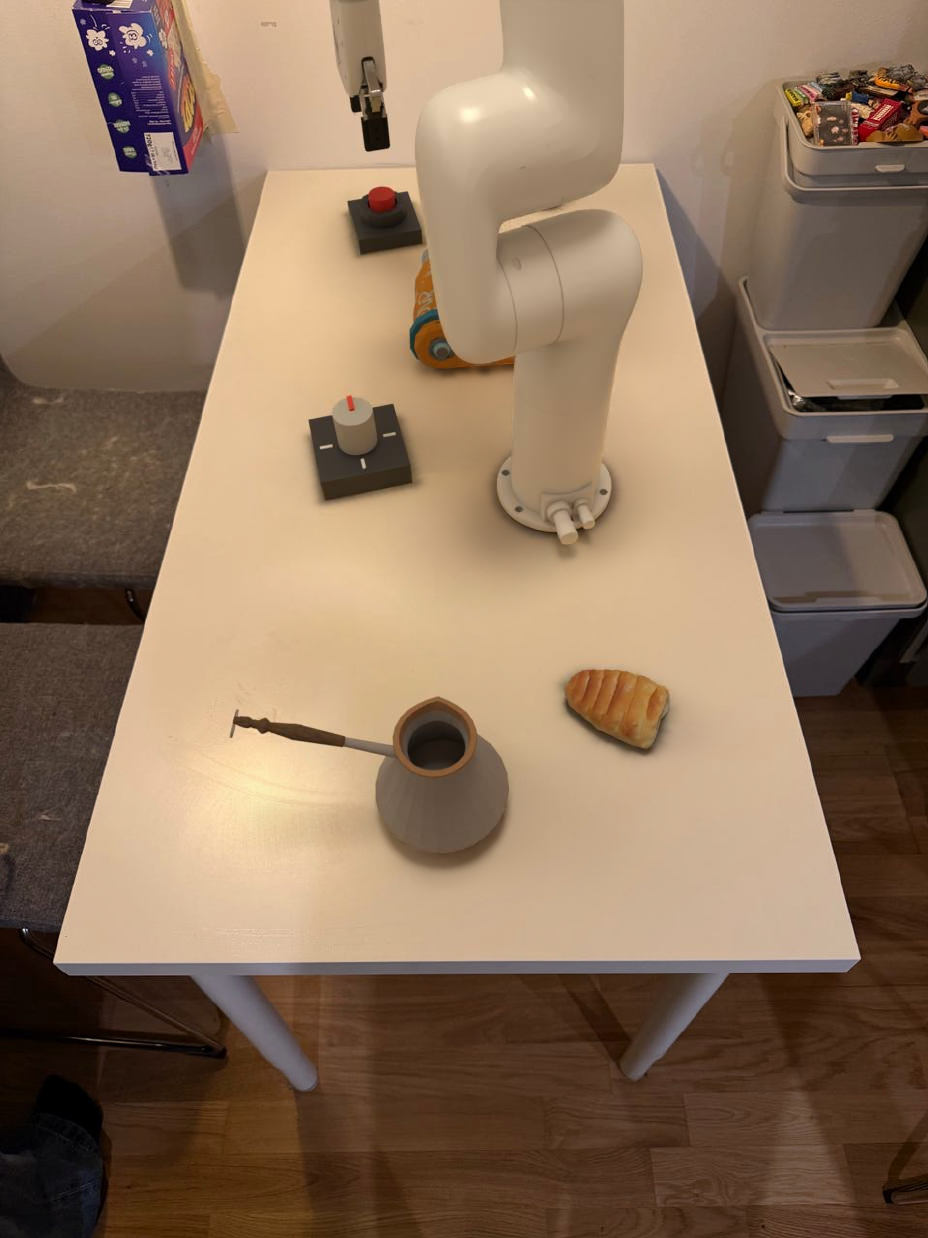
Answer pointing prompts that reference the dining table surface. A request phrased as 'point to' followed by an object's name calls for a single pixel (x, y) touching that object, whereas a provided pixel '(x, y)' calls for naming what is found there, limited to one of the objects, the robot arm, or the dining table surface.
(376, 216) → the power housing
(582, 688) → the pastry
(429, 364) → the device
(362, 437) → the timer knob
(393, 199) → the power button
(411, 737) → the coffee pot
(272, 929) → the dining table surface
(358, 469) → the timer panel
